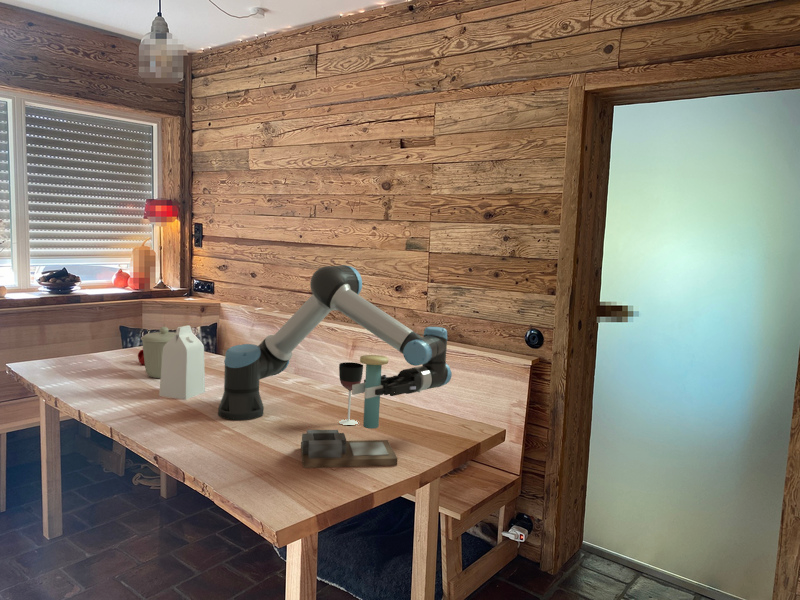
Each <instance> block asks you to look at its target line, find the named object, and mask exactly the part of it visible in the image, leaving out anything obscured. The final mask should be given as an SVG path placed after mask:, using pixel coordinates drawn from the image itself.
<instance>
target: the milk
mask: <svg viewBox="0 0 800 600" xmlns="http://www.w3.org/2000/svg"><path fill="white" fill-rule="evenodd" d="M175 333H176V335H175V336H174V337H173V338H172V339H171V340H170V341H168V342H167V343H166V344H165V345H164V347H163V354H162V367H161V378H159V379H160V383H159V393H158V394H159V395H158V396H159V397H164V398H170V399H178V400H185V401H187V400H188V399H191V398H194V397H196V396H199V395H201V394H204V393H206V382H205V380H206V378H205V346H204V344H203V342H202V341H201V340H200V339H199V338H198V337H197V336H196V335H195V333H193V330H192V327H191V325H188V324H187V325H183V326H178V327H177V328H176V331H175Z"/></svg>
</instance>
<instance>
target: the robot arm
mask: <svg viewBox="0 0 800 600" xmlns="http://www.w3.org/2000/svg"><path fill="white" fill-rule="evenodd" d="M309 287H310V290H311V293H312V294H311V295H310V297H308V299H307V300H306V301H305V302H304V303H303V304H302V305H301V306H300V307H299V308H298V309H297V311H295V313H294V314H293V315H292V316H291V317H290V318H288V320H287V321H286V322H285V323H284V324H283V325H282V326H281V328H279V329H278V331H277V332H276V333H275V334H268V335H267V336H266V337H265V338H264V339H263V340H262V341H261V342H260V343H259V344H258V345H257V344H252V343H244V344H243V343H242V344H235V345H233V346H231V347H229V348H228V349H227V350H226V351H225V355H224V362H223V364H224V377H223V378H224V379H223V381H224V383H223V384H224V385H223V386H224V387H223V389H224V390H223V394H222V397H221V400H220V402H219V406H218V408H217V411H218V412H217V414H218V417H221V418H222V419H225V420H231V421H246V420H253V419H257V418H260V417H262V416H263V415H264V410H265V409H264V408H265V407H264V403H263V401H262V397H261V394H260V380H262V379H266V378H269V377H272V376H273V377H274V376H277V375H279V374H280V373H282V372H284V370H286V368H288V365H289V363H290V360H291V359H292V356H293V351H294V350H295V348H297V346H299V344H301V342H303V341H304V339H306V338H307V336H308V335H309V334H310V333H311V332H312V331H313V330H314V329H315V328H316V327H317V326H318V325H319V324H320V323H321V322H322V321H323V320H324V319H325V318H326V317H327V316H328V315H329V314H330V313H331V312H332V311H339V312H340V313H342V314H343V315H345V316H346V317H348V318H349V319H350V320H352V321H353V322H355V323H357V324H358V325H359V326H361V327H362V328H364V329H366V330H367V331H369V332H370V333H371V334H372V335H374V336H376V337H377V338H379V339H380V340H382V341H383V342H384V343H386V344H387V345H389V346H391V347H392V348H393V349H395V350H396V351H398V352H400V354H402V355H403V358H404V359H405V362H406V363H407V364H409V365H410V366H413V367H411V368H405V369H402V370H400V371H399V372H398V373H397V375H396V374H395V375H393V376H387V375H386V374H381V385H380V386H375V387H370V388H365V379H364V380H363V382H360V383H359V384H354V385H352V390H351V395H353V396H355V395H361V394H364V399H365V398H366V399H367V398H372V397H376V396H380V397H381V396H390V397H395V396H400V395H404V394H406V395H407V394H409V395H410V394H414V393H421V392H422V391H426V390H430V389H435V388H441V387H442V386H445V385H447V384H449V383H450V381H451V379H452V376H453V373H452V370H451V367H450V366H449V364H447V363H446V362H447V361H446V360H447V347H448V329H446V328H444V327H441V326H426V327H425V328H424V332H423V335H422V336H421V335H420V334H419V333H416V331H414V330H412V329H411V328H410V327H408V326H407V325H405V324H404V323H402V322H401V321H399V320H397V319H396V318H394V317H392V316H391V315H389V314H388V313H386V312H385V311H384V310H382V309H381V308H379V307H377V306H376V305H375V304H373V303H372V302H370V301H368V300H367V299H365V298H364V297H363V296H361V295H360V293H361V291H362V288H363V279H362V276H361V274H360V272H359V271H358V270H357V269H356V268H355V267H353V266H350V265H346V264H345V265H344V264H343V265H331V266H330V265H326V266H321V267H320V268H318V269H317V270H315V272H313V274H312V276H311V279H310V284H309Z"/></svg>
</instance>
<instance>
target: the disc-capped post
mask: <svg viewBox="0 0 800 600" xmlns="http://www.w3.org/2000/svg"><path fill="white" fill-rule="evenodd" d="M359 363H360V364H363V365H364V364H365V379H364V380H365V388H370V387H375V386H380V385H381V376H382V366H384V365H387V364H388V363H389V357H387V356H384V355H378V354H365V355H361V356H360V357H359ZM380 401H381V395H380V396H376V397H372V398H367V399H366V398H364V402H363V403H364V404H363V405H364V407H363V424H362V426H363V428H365V429H368V430H369V429H371V430H373V429H378V428H379V426H380V406H381V405H380V404H381V402H380Z"/></svg>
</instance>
